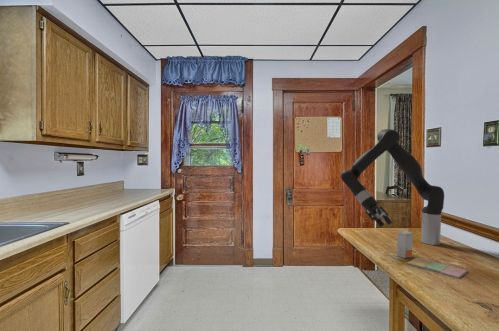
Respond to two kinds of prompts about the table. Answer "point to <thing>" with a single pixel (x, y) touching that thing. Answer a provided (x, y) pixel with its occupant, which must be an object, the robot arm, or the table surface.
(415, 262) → the multicoloured flat board
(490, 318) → the table surface
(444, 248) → the table surface
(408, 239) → the skincare box
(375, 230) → the table surface
